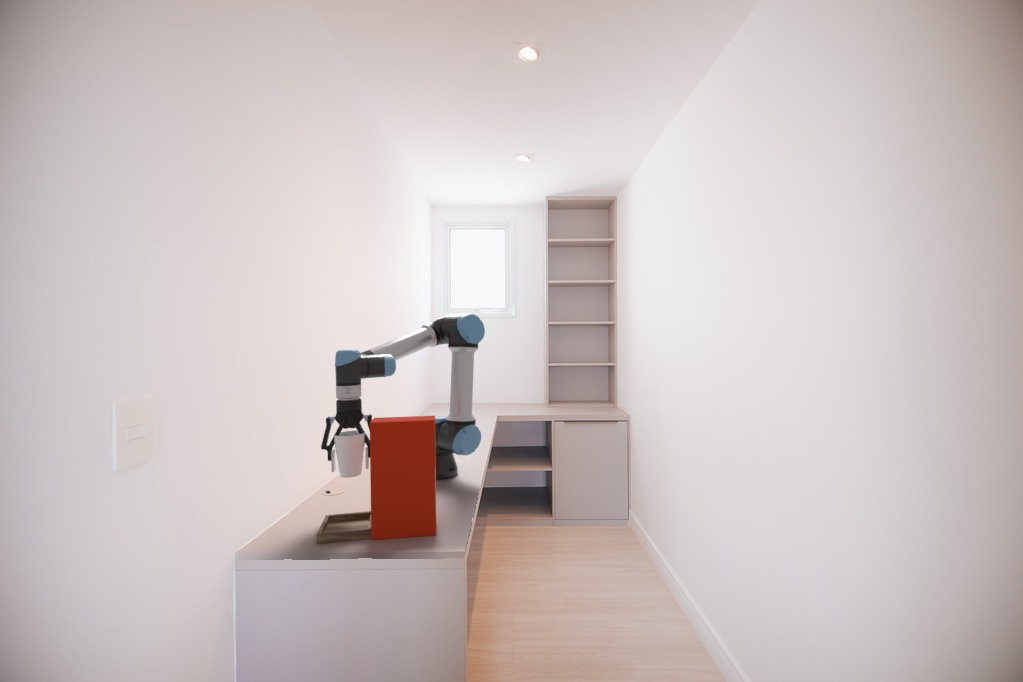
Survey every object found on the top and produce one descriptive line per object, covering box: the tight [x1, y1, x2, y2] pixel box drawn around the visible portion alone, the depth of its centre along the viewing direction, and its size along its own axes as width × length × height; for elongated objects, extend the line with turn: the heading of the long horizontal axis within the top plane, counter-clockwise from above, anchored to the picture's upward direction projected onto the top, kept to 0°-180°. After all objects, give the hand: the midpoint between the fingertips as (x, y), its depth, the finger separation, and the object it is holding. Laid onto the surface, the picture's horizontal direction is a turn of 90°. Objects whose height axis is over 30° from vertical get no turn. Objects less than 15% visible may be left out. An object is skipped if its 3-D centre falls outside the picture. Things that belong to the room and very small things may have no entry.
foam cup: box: [333, 429, 367, 478], centre depth 141 cm, size 10×9×13 cm
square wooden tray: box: [315, 510, 371, 545], centre depth 128 cm, size 14×14×2 cm
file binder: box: [369, 415, 438, 541], centre depth 126 cm, size 8×17×32 cm, turn 98°
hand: (350, 469), depth 141 cm, fingers closed on foam cup, 9 cm apart
